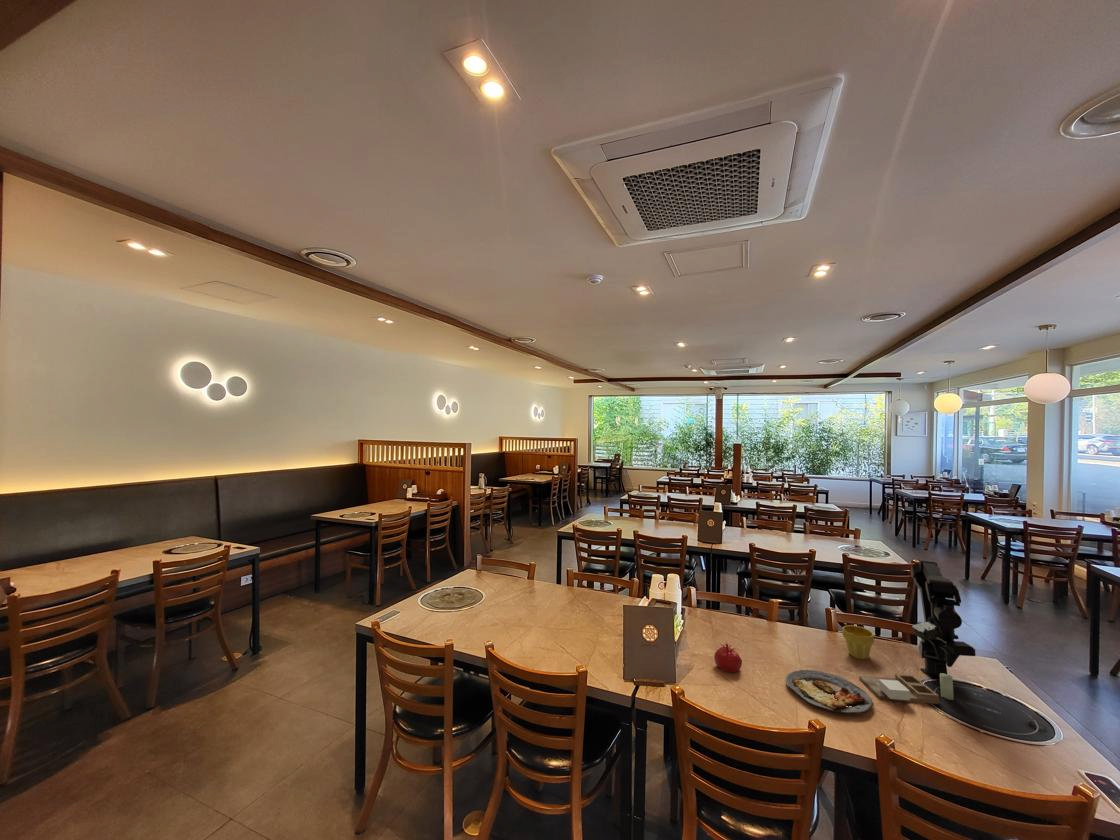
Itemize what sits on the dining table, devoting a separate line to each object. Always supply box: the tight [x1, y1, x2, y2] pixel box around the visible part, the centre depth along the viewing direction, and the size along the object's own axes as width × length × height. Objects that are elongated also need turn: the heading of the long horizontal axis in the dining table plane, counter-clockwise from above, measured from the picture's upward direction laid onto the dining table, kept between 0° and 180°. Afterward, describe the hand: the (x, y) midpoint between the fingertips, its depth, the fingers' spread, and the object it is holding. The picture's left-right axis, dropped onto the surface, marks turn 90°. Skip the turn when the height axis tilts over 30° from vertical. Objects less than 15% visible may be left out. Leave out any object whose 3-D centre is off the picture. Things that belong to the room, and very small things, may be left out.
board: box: [858, 673, 940, 705], centre depth 144 cm, size 12×18×3 cm, turn 81°
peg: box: [939, 673, 955, 701], centre depth 141 cm, size 3×3×7 cm
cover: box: [879, 679, 910, 700], centre depth 140 cm, size 6×6×3 cm
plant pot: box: [842, 624, 875, 660], centre depth 169 cm, size 10×10×10 cm
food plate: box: [785, 669, 874, 714], centre depth 143 cm, size 25×23×4 cm
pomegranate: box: [713, 642, 743, 673], centre depth 160 cm, size 10×10×9 cm
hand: (945, 663), depth 141 cm, fingers open, 3 cm apart
